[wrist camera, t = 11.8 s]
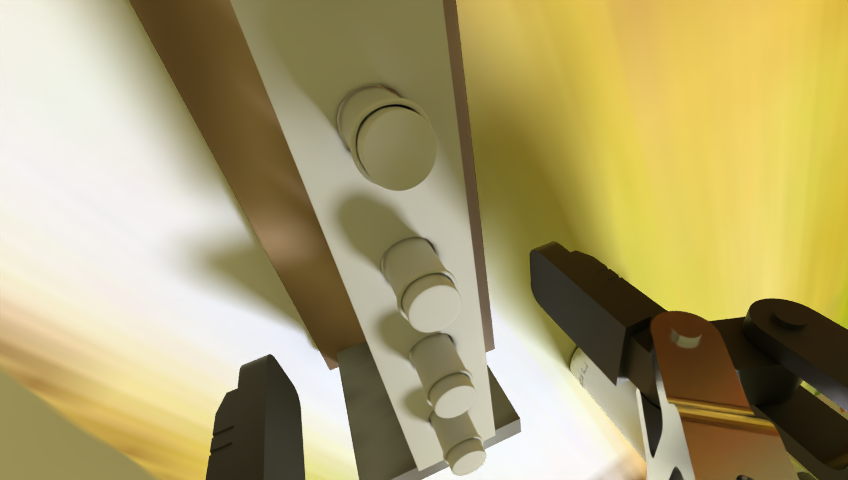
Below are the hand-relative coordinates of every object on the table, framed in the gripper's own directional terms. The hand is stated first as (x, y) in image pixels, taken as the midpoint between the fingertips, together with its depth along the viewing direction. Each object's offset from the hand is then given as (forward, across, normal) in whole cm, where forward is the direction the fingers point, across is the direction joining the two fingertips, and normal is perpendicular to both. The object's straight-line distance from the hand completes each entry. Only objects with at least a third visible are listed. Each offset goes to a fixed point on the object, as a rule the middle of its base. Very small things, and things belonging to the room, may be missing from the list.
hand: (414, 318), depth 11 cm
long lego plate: (+12, -1, -1) cm, 13 cm away
